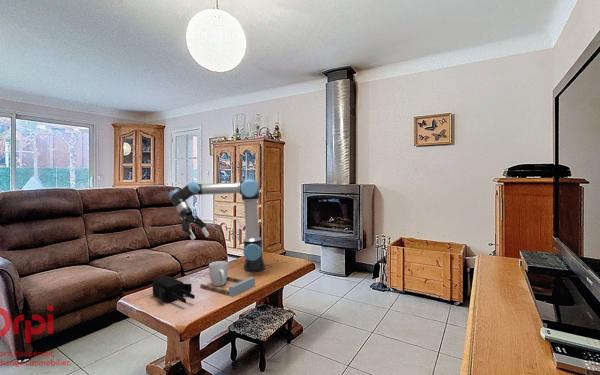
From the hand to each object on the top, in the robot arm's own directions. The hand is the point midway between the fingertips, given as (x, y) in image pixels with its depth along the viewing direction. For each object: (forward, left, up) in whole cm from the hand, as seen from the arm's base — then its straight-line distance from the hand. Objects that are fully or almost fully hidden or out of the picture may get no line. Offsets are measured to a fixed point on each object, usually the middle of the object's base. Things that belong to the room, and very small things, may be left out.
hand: (201, 237), depth 187 cm
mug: (-11, +9, -28) cm, 32 cm away
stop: (-24, +22, -28) cm, 43 cm away
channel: (-15, +13, -28) cm, 34 cm away
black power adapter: (+12, +26, -29) cm, 40 cm away
